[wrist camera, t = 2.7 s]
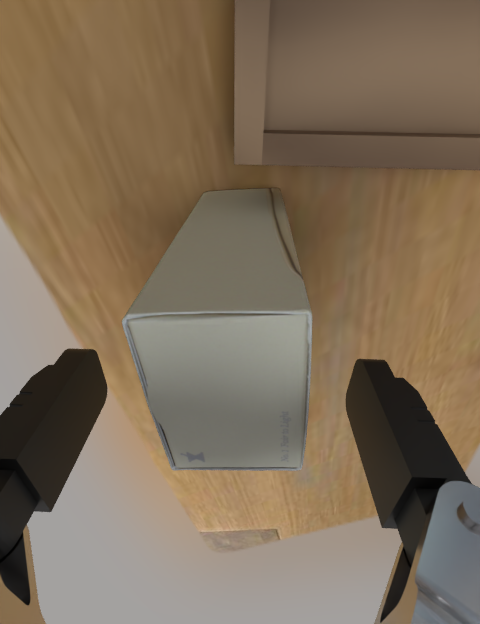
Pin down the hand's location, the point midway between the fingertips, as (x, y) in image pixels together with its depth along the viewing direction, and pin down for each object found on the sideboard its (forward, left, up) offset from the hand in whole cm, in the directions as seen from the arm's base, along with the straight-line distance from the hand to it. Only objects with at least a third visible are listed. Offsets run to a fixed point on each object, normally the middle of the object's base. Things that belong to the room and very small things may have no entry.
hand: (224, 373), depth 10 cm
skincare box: (0, 0, -11) cm, 11 cm away
